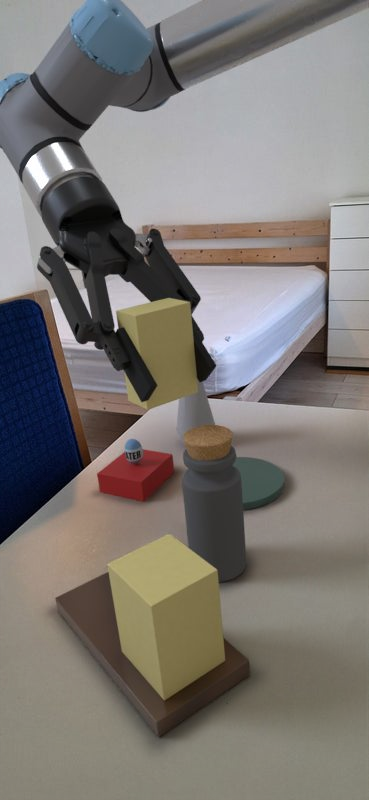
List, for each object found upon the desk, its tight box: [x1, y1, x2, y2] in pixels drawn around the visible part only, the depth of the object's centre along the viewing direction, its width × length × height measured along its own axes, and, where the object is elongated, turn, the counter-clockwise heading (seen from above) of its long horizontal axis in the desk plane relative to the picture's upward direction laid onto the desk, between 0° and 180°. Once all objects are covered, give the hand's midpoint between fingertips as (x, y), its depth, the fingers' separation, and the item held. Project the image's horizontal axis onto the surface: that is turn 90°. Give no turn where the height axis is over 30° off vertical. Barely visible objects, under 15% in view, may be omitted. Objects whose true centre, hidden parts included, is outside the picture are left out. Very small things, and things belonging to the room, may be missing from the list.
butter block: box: [107, 533, 225, 700], centre depth 48 cm, size 6×6×9 cm
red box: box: [96, 438, 175, 503], centre depth 79 cm, size 8×7×6 cm
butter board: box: [54, 571, 251, 738], centre depth 53 cm, size 9×18×2 cm, turn 36°
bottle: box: [181, 424, 247, 583], centre depth 60 cm, size 6×6×15 cm
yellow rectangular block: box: [115, 298, 198, 411], centre depth 57 cm, size 6×4×9 cm, turn 126°
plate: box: [233, 456, 286, 511], centre depth 77 cm, size 12×12×1 cm
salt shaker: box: [176, 379, 216, 445], centre depth 88 cm, size 6×6×13 cm
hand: (179, 383), depth 55 cm, fingers closed on yellow rectangular block, 6 cm apart
